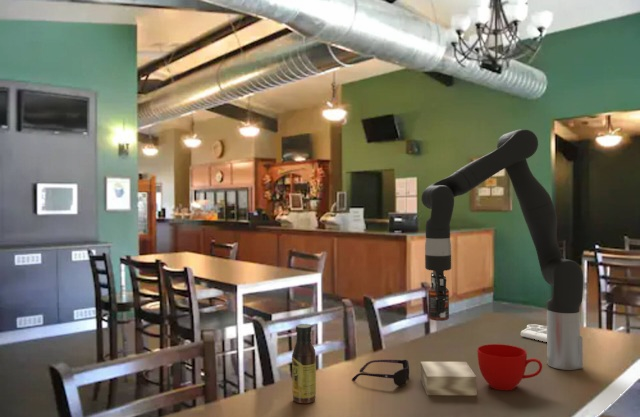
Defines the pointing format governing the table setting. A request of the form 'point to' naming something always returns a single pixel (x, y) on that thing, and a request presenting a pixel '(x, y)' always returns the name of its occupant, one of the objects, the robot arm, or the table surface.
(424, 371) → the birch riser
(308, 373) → the sauce bottle
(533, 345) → the table surface
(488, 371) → the ceramic cup
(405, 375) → the sunglasses
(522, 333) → the white brass knuckles
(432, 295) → the supplement bottle
